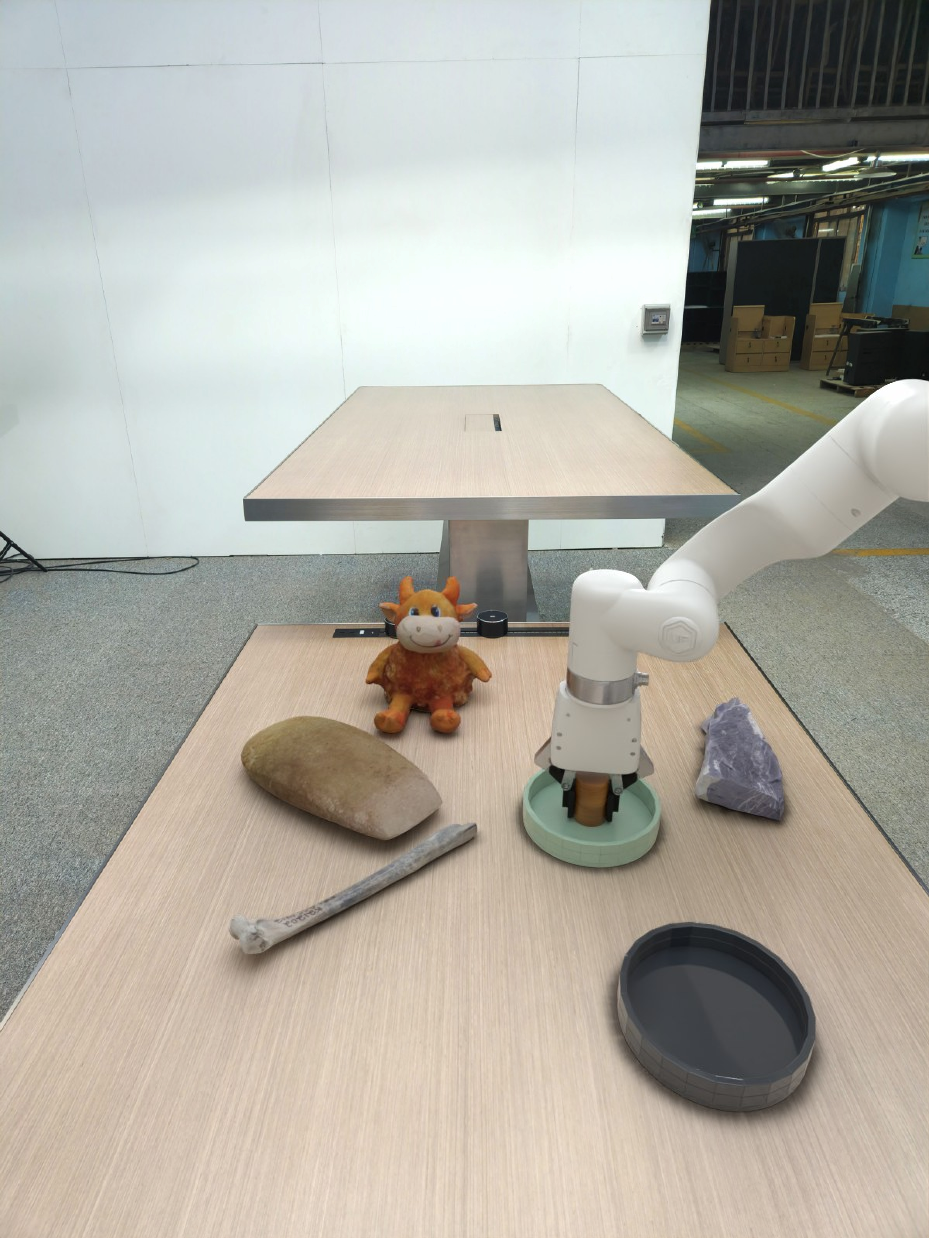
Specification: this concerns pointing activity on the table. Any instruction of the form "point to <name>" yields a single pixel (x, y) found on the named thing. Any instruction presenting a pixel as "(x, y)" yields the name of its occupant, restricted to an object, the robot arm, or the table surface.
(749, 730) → the rock
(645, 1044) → the slate bowl
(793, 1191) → the table surface
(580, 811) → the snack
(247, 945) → the bone
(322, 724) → the stone
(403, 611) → the toy
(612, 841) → the green bowl
